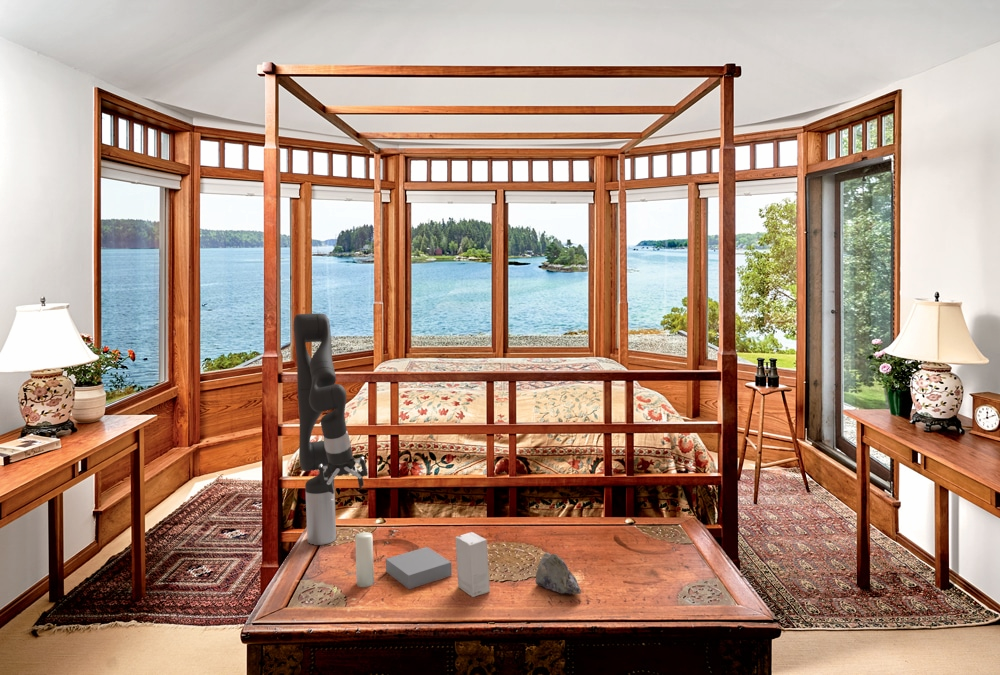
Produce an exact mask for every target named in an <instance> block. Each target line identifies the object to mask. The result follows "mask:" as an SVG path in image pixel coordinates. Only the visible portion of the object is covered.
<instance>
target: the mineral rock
mask: <svg viewBox="0 0 1000 675" xmlns="http://www.w3.org/2000/svg"><path fill="white" fill-rule="evenodd" d="M577 580H578V579H576V576H574V575H573V573H572V572H571V571H570V570H569V567H568V565H567V564H566V563H565V561H564V560H563V559H562V558H561V557H559V556H558V554H556V553H555V554H554V553H553V554H551V553H550V552H545V553H544V554H543V555H542V557H541V559H540V561H539V563H538V566H537V569H536V573H535V584H536V585H537V586H541V587H543V588H545V589H547V590H551V591H553V592H557V593H559V594H571V595H572V594H576V595H581V593H582V590H581V588H580V585H579V583H578V581H577Z"/></svg>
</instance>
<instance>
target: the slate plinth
mask: <svg viewBox="0 0 1000 675" xmlns="http://www.w3.org/2000/svg"><path fill="white" fill-rule="evenodd" d="M385 572H386V573H387V574H388V575H390V577H392V578H393V579H395V580H396V581H398V582H399V583H400V584H401V585H403V586H404V587H405V588H406V589H407V590H411V589H414V588H415V589H416V588H418V587H421V586H423V585H427V584H430V583H433V582H435V581H438V580H442V579H446V578H448V577H451V576H452V575H453V574H452V561H450V560H448V559H447V558H446V557H444V556H442V555H441V554H440V553H438V552H436V551H434V550H433V549H431V548H430V547H429V546H425V547H422V548H418V549H415V550H412V551H408V552H404V553H401V554H397V555H393V556H390V557H386V558H385Z"/></svg>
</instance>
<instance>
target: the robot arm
mask: <svg viewBox="0 0 1000 675" xmlns="http://www.w3.org/2000/svg"><path fill="white" fill-rule="evenodd" d="M293 335H294V337H293V338H294V345H295V357H296V366H297V367H296V372H297V374H296V377H297V382H296V383H297V386H296V387H297V404H298V415H299V417H298V418H299V439H298V440H299V445H298V446H299V448H298V449H299V451H298V452H299V453H298V456H299V466H300V468H301V470H302V471H304V472H312V471H318V474H317V475H316V476H313V477H311V478H310V479H308V480H307V481H306V482H305V485H304V486H305V487H304V490H305V509H306V510H305V512H306V514H305V516H306V536H307V537H306V538H307V543H308V544H309V543H310V544H309V545H312V544H314V545H313V546H323V545H328V544H330V543H333V542H335V541H336V539H337V529H336V528H337V526H336V525H337V524H336V523H337V522H336V520H337V519H336V499H335V498H336V496H335V495H336V494H335V478H336V477H337V476H338V477H342V476H343V475H346V476H347V475H349V474H351V475H352V476H353V477H355V478H357V481H358V482H357V483H358V487H359V489H362V488H363V487H364V479H363V477H365V476H368V468H367V465H366V460H365V457H364V456H363V455H360V456H359V457H356V458H355V457H354V455H353V451H352V445H351V440H350V434H349V433H348V429H347V424H346V419H345V412H346V411H345V410H346V404H347V391H346V389H345V387H344V386H343V385H341V384H338V383H336V381H337V376H336V375H337V374H336V372H335V370H336V369H335V367H334V366H335V365H334V362H333V354H332V352H333V348H332V347H333V346H332V334H331V325H330V320H329V316H327V315H326V314H325V313H298V314H296V315H295V316H294V319H293ZM316 342H318V343H319V342H320V345H319V346H318V348H317V349H316V350H315V352H314V354H313V355H312V357H311V356H310V354H309V352H308V349H307V345H306V343H316ZM327 411H330V412H328V413H326V414H324V415H323V416H321V414H322V413H323V412H327ZM320 416H321V419H320V427H321V431H322V435H323V436H322V437H323V440H320V441H318V440H317V441H311V436H312V433H313V430H314V427H315V425H316V423H317V421H318V420H319V418H320ZM356 464H357V465H359V466H360V467H361V470H360V469H359V468H358V467H357V466H356Z"/></svg>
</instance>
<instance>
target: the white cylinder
mask: <svg viewBox="0 0 1000 675" xmlns="http://www.w3.org/2000/svg"><path fill="white" fill-rule="evenodd" d="M354 540H355V543H354V544H355V572H356V573H355V575H356V577H355V578H356V586H357V587H360V588H368V587H371V586H372V585H374V584H375V582H374V580H375V577H374V576H375V574H374V572H375V571H374V569H375V568H374V545H373V544H374V542H373V540H374V539H373V533H371V532H367V531H366V532H365V531H363V532H358V533H357V534H355V535H354Z"/></svg>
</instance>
